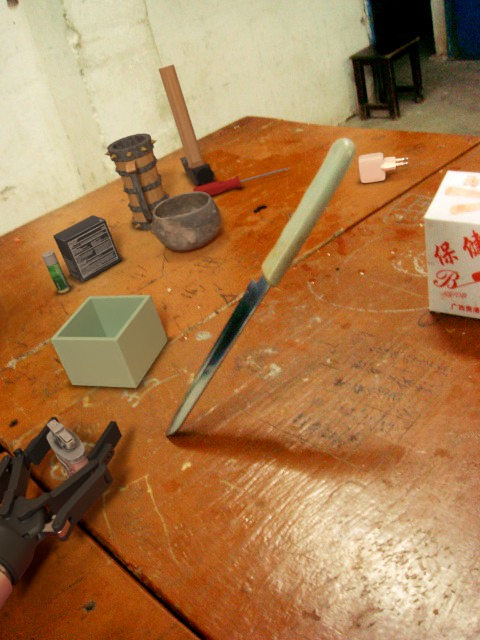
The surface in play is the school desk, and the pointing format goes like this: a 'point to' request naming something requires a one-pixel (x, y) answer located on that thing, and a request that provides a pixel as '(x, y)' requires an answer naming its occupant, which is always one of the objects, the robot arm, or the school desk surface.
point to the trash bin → (110, 341)
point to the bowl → (186, 221)
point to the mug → (138, 176)
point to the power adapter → (377, 166)
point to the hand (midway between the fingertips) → (86, 426)
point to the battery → (55, 271)
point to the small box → (87, 248)
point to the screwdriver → (227, 184)
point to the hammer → (185, 129)
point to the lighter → (67, 447)
